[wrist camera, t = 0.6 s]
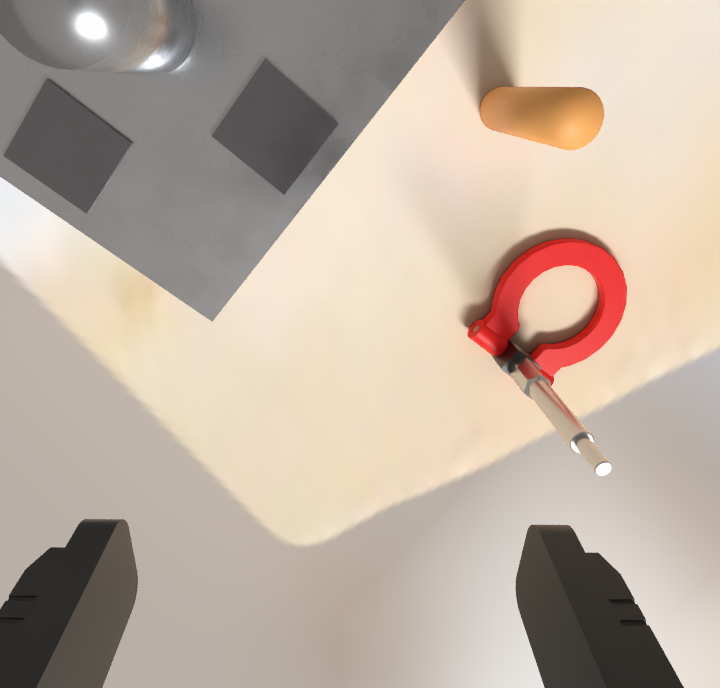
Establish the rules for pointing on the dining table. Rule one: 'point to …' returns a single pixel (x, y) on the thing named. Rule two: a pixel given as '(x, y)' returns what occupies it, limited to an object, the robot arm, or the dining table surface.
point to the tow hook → (549, 358)
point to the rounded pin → (545, 114)
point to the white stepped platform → (194, 118)
